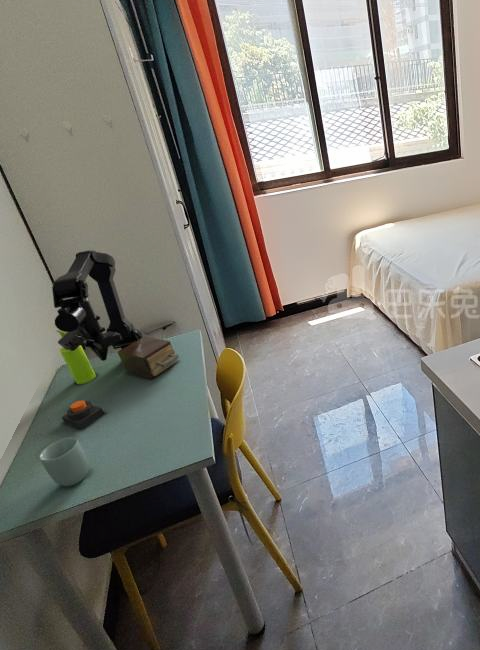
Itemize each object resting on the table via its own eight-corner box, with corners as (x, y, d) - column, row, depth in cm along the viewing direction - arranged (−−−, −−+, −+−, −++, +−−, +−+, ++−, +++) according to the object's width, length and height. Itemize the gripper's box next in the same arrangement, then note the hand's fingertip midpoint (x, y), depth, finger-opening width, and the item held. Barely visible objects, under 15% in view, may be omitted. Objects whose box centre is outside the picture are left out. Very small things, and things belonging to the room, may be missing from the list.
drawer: (186, 363, 155) (180, 346, 152) (163, 378, 147) (156, 361, 144) (154, 356, 162) (148, 340, 159) (131, 370, 154) (123, 354, 151)
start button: (70, 411, 131) (67, 406, 130) (82, 403, 134) (79, 399, 133) (77, 413, 130) (74, 409, 129) (89, 406, 133) (86, 401, 132)
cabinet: (177, 361, 158) (169, 341, 154) (152, 379, 149) (143, 357, 146) (152, 356, 164) (144, 336, 160) (126, 372, 155) (117, 351, 151)
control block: (64, 422, 133) (58, 412, 131) (87, 408, 138) (82, 397, 136) (82, 429, 129) (76, 418, 127) (105, 413, 134) (99, 403, 133)
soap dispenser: (84, 385, 150) (58, 335, 142) (72, 382, 153) (46, 332, 145) (101, 376, 155) (77, 326, 147) (89, 372, 158) (65, 323, 150)
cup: (75, 492, 106) (57, 461, 102) (49, 490, 108) (30, 459, 104) (101, 467, 113) (85, 437, 109) (76, 465, 115) (59, 436, 111)
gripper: (38, 326, 131) (61, 369, 138) (75, 333, 123) (97, 379, 130) (76, 309, 140) (95, 350, 147) (112, 315, 132) (131, 359, 139)
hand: (104, 360), depth 140 cm, fingers closed
